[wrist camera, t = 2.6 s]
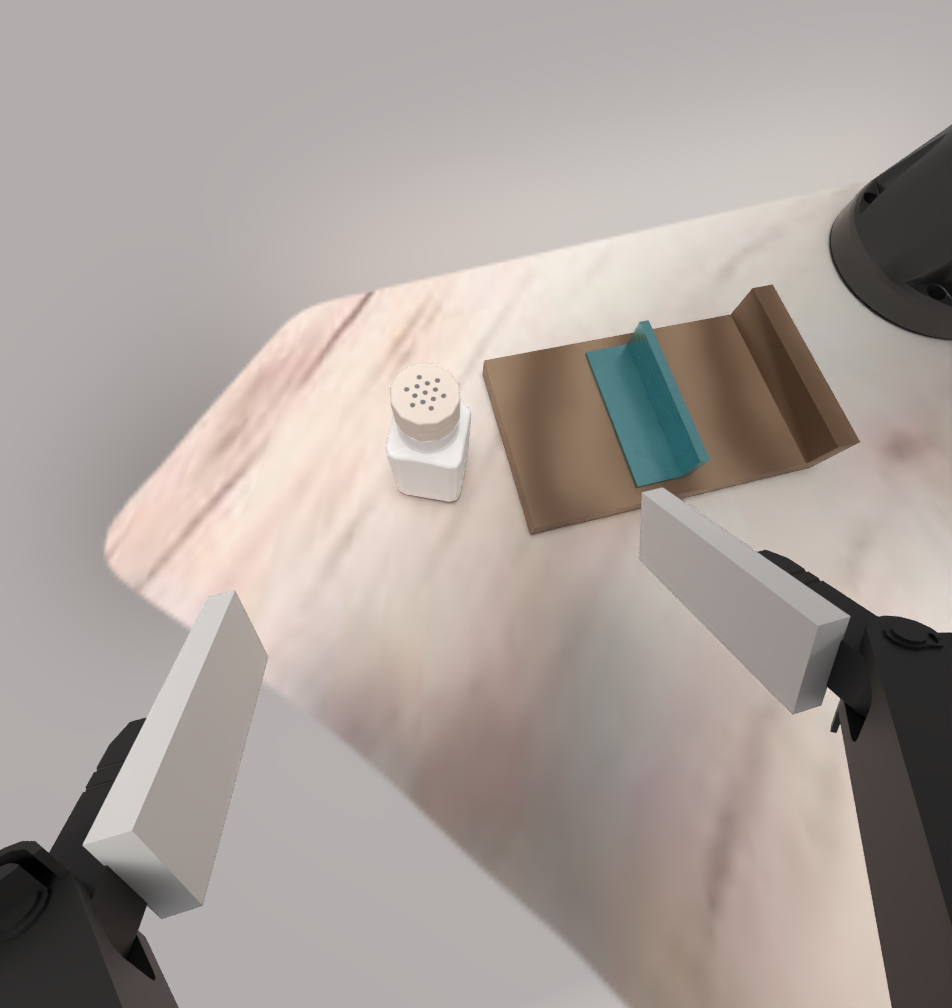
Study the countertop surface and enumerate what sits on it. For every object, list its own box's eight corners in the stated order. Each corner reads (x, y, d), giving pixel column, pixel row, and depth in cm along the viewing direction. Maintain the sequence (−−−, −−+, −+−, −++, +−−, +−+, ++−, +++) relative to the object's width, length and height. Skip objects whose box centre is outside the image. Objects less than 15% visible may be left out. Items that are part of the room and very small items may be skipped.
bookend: (633, 345, 31) (648, 320, 29) (688, 475, 28) (710, 460, 26) (584, 354, 31) (596, 329, 28) (635, 488, 28) (653, 473, 25)
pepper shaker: (469, 449, 30) (476, 362, 21) (458, 506, 28) (461, 440, 19) (409, 439, 30) (391, 348, 21) (396, 495, 28) (370, 424, 19)
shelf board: (736, 325, 34) (772, 284, 30) (809, 467, 30) (860, 442, 27) (482, 373, 31) (486, 336, 28) (530, 534, 28) (542, 516, 24)
